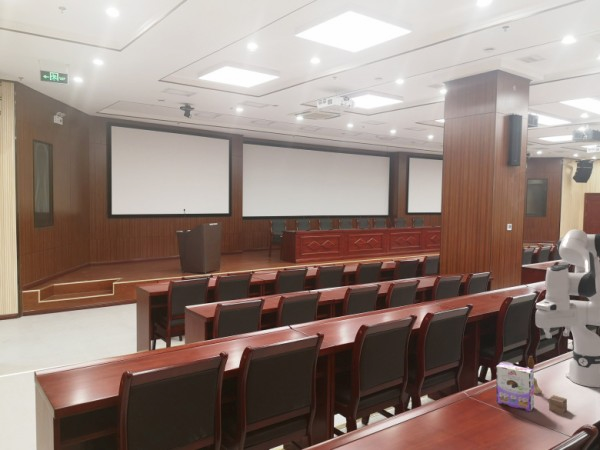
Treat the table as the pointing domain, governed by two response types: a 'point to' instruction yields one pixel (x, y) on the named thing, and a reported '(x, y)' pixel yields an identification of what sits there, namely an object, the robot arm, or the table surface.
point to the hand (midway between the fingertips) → (557, 337)
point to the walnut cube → (558, 404)
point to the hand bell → (536, 388)
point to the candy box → (515, 386)
